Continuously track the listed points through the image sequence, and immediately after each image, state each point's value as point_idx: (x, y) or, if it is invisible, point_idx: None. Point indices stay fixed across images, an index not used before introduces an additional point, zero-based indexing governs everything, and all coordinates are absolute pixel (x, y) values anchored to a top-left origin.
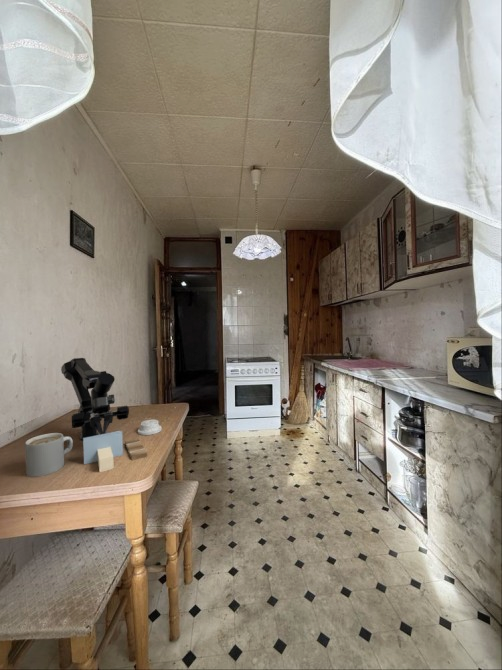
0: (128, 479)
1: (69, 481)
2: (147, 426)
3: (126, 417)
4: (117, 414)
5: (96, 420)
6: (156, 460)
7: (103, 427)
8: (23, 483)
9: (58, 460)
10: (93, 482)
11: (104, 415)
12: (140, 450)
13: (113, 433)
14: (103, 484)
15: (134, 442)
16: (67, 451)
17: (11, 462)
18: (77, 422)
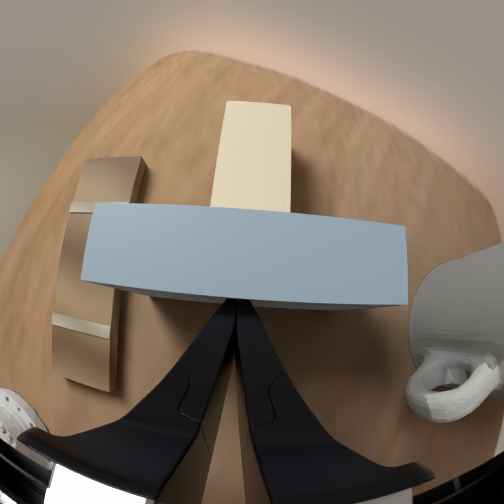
0: (211, 61)
1: (378, 150)
2: (4, 422)
3: (1, 439)
4: (12, 466)
5: (327, 456)
6: (93, 121)
7: (221, 360)
8: (482, 243)
9: (448, 273)
10: (306, 96)
11: (153, 494)
12: (88, 201)
13: (151, 241)
14: (279, 73)
15: (73, 327)
16: (421, 369)
17: (494, 431)
18: (475, 481)
